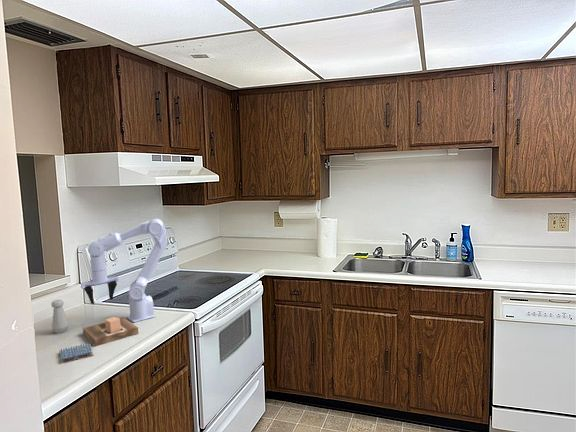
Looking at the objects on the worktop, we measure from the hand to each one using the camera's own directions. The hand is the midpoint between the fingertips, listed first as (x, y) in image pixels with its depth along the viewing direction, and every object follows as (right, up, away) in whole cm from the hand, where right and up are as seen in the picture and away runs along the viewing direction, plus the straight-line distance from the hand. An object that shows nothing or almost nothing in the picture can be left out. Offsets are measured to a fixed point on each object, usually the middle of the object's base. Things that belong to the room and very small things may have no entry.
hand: (101, 301), depth 179 cm
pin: (+11, -11, -14) cm, 21 cm away
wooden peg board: (+9, -11, -11) cm, 18 cm away
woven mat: (+4, -14, -29) cm, 32 cm away
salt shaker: (-14, -11, -7) cm, 19 cm away
